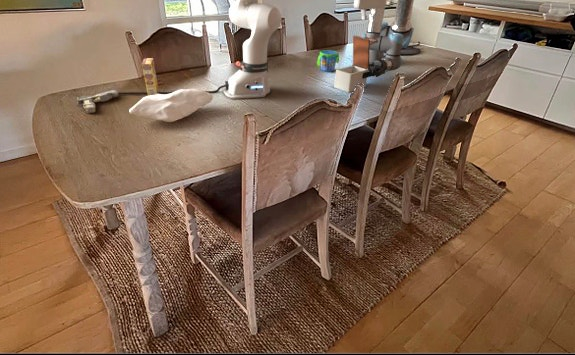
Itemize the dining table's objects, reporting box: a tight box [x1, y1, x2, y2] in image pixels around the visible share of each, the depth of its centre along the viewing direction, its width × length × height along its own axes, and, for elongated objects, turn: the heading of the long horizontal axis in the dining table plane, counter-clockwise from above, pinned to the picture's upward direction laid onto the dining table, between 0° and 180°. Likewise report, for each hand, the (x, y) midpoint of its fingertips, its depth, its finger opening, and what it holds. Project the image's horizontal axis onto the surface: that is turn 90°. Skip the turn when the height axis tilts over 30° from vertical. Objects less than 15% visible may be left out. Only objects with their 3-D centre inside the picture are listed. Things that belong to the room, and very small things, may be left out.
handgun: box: [76, 89, 120, 114], centre depth 155 cm, size 3×18×15 cm
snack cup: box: [316, 49, 340, 73], centre depth 207 cm, size 16×10×10 cm
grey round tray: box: [383, 46, 421, 55], centre depth 258 cm, size 35×35×9 cm
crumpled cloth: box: [129, 88, 214, 123], centre depth 147 cm, size 24×35×9 cm
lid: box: [352, 34, 378, 69], centre depth 182 cm, size 15×10×9 cm
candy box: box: [141, 57, 160, 96], centre depth 163 cm, size 9×4×15 cm, turn 13°
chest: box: [333, 64, 368, 93], centre depth 184 cm, size 14×10×9 cm
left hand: (367, 19), depth 173 cm, fingers open, 5 cm apart
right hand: (355, 73), depth 184 cm, fingers closed on chest, 9 cm apart
